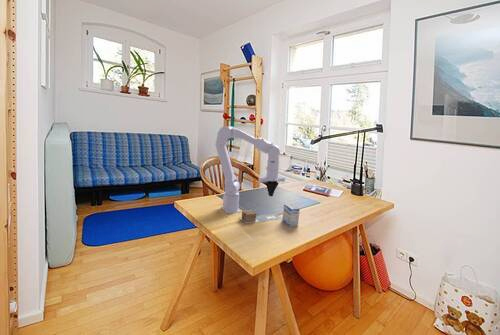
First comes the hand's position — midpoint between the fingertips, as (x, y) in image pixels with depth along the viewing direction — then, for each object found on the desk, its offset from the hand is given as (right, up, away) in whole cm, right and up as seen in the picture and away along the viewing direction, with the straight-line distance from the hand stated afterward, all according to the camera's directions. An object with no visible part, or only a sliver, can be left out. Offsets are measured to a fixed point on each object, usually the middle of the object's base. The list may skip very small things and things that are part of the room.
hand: (270, 195), depth 139 cm
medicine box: (+9, -13, -8) cm, 17 cm away
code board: (-5, -11, -4) cm, 13 cm away
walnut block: (-11, -11, -7) cm, 17 cm away
